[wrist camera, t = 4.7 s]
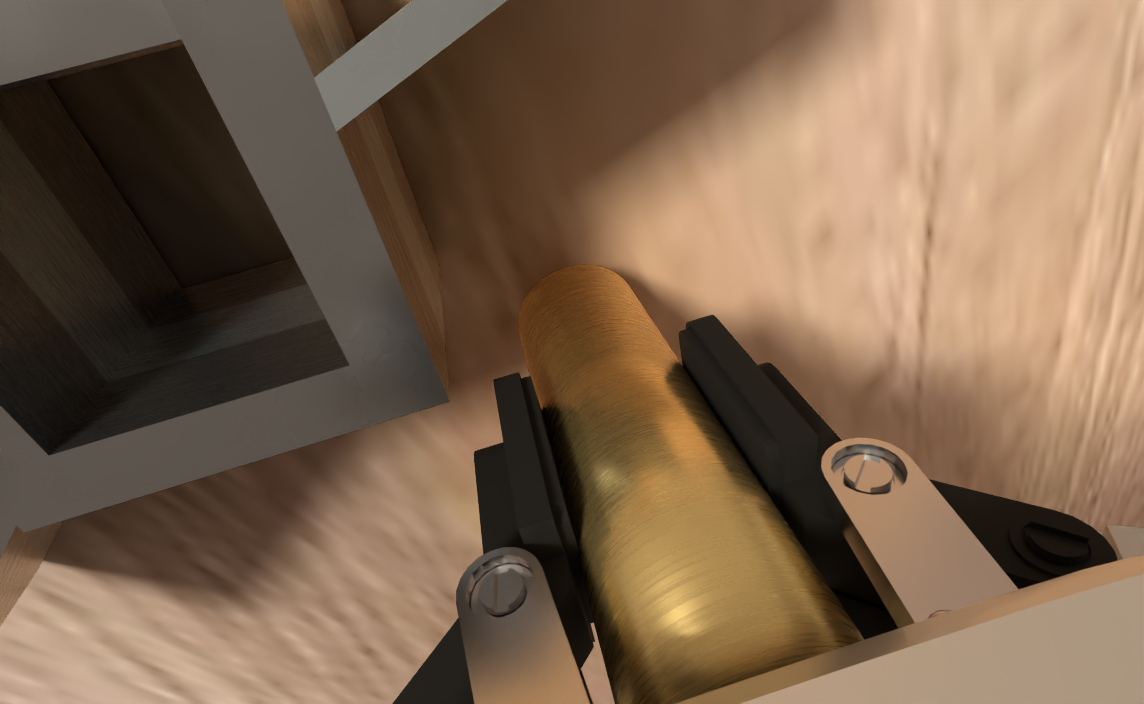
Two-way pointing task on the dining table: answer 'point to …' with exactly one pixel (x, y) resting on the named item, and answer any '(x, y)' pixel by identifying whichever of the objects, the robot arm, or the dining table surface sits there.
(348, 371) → the grey winged square socket
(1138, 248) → the dining table surface
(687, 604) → the pin
